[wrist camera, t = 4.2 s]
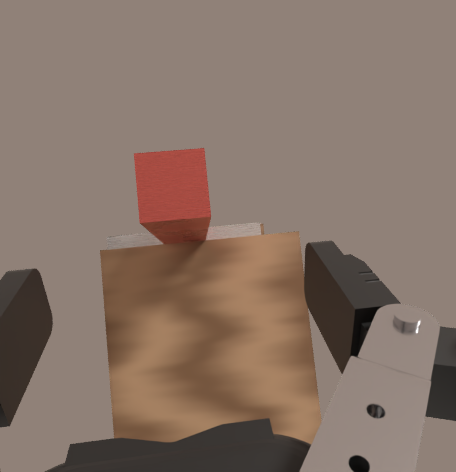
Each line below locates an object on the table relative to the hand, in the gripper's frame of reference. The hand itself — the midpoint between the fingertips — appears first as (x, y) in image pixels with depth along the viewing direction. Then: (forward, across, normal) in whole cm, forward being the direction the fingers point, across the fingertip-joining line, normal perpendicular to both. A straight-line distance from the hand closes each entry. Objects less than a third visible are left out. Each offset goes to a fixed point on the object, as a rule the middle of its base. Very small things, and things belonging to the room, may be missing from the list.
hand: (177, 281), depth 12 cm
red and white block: (+12, 0, +4) cm, 13 cm away
